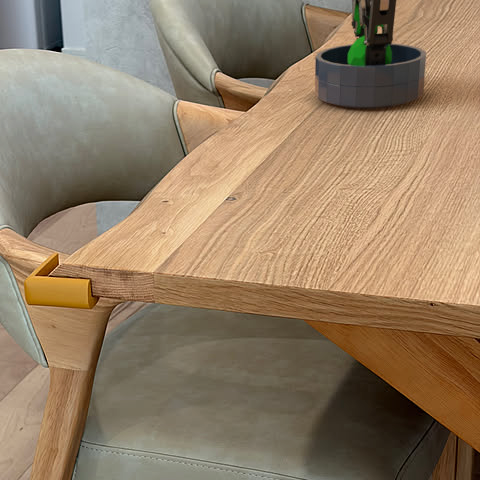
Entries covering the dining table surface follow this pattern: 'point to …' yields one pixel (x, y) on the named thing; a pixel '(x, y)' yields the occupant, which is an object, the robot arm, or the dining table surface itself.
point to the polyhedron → (358, 53)
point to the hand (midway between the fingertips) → (369, 74)
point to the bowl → (370, 78)
